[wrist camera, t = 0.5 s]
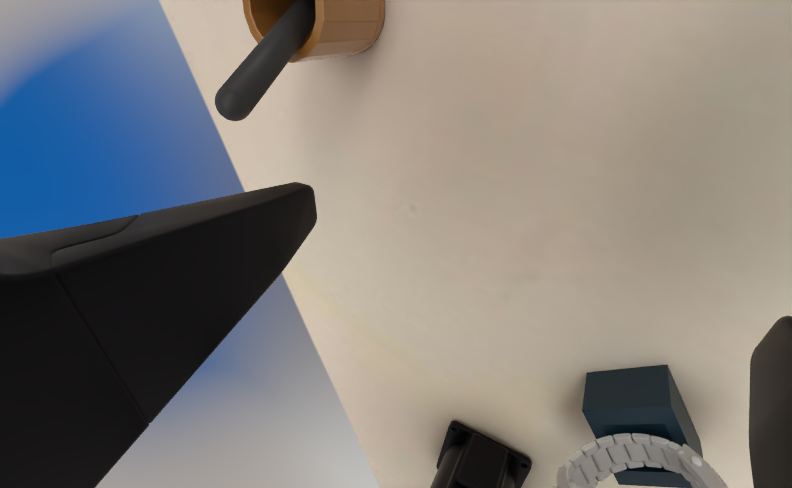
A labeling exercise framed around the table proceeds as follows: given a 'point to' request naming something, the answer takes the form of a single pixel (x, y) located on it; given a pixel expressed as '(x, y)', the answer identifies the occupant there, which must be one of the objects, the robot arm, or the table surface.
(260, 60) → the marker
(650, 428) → the watch
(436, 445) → the table surface
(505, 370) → the table surface
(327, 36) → the brown wooden cup
